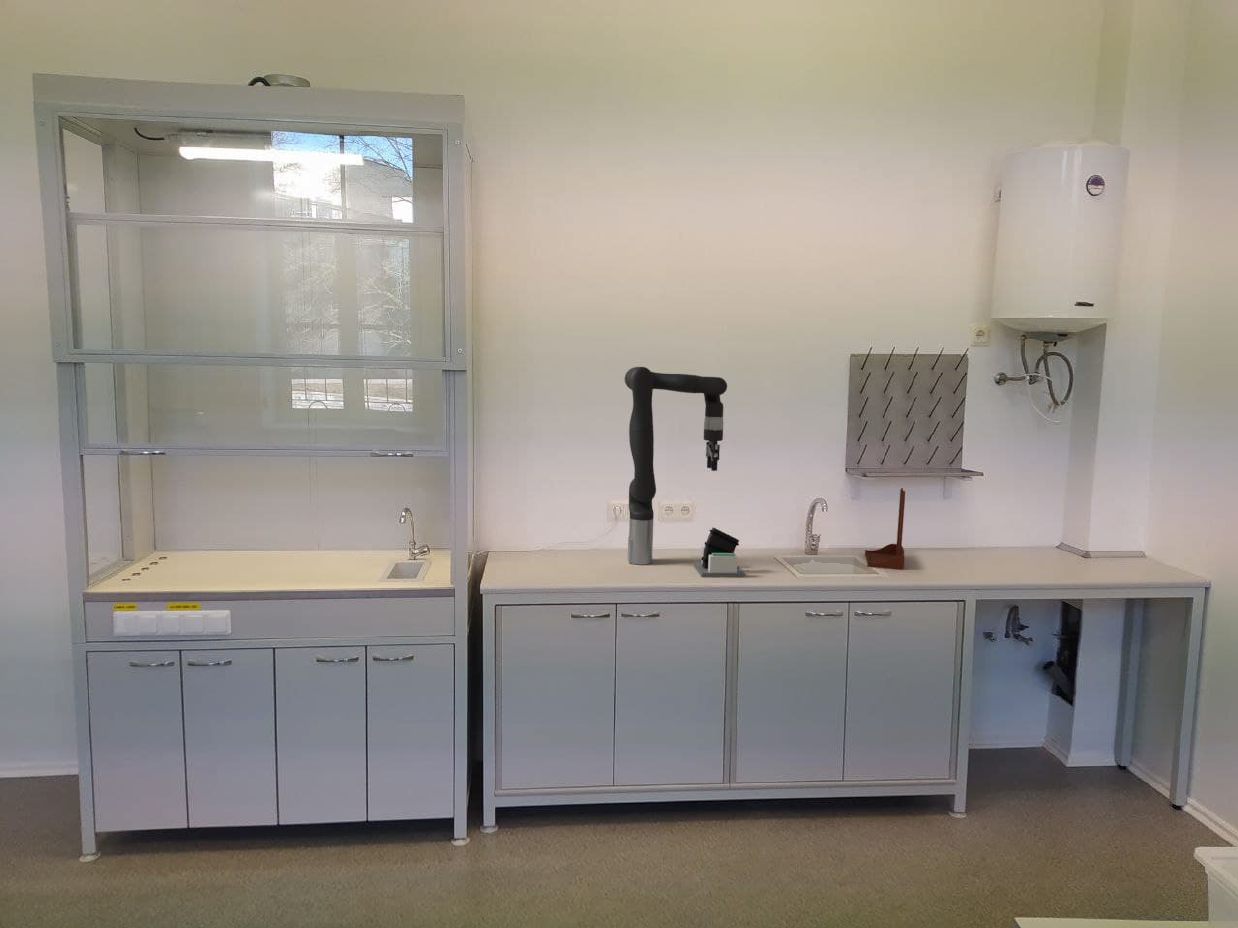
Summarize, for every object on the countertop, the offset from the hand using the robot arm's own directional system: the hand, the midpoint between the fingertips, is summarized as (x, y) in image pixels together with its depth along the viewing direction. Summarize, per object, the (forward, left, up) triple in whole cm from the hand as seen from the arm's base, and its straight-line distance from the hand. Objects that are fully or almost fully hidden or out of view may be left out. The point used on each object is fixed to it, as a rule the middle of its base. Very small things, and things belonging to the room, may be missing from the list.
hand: (711, 469), depth 303 cm
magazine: (+1, -20, -35) cm, 40 cm away
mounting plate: (0, -20, -36) cm, 41 cm away
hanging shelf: (+72, -2, -36) cm, 80 cm away
